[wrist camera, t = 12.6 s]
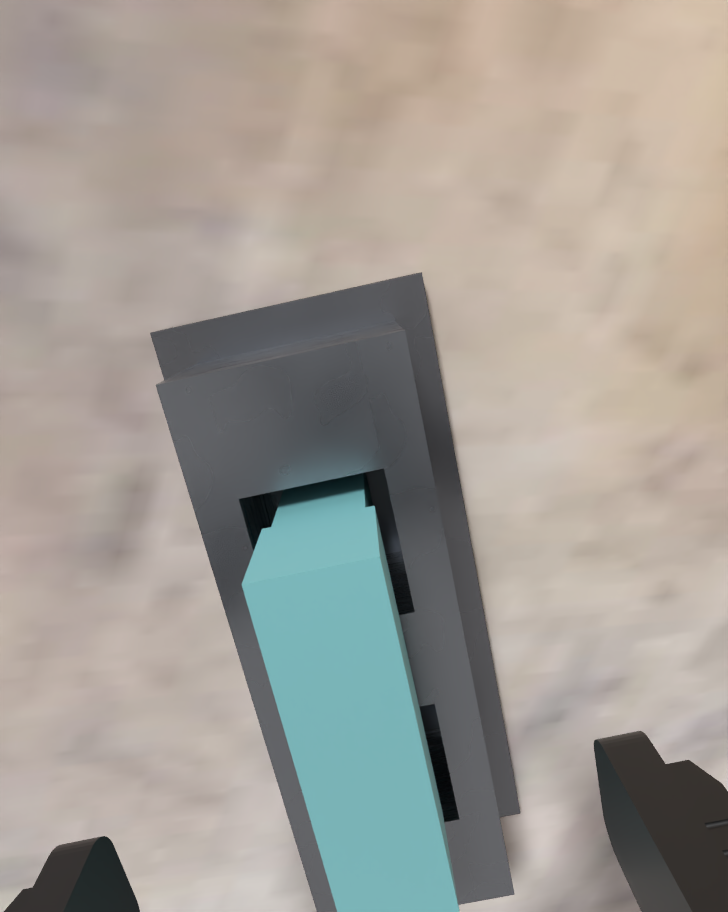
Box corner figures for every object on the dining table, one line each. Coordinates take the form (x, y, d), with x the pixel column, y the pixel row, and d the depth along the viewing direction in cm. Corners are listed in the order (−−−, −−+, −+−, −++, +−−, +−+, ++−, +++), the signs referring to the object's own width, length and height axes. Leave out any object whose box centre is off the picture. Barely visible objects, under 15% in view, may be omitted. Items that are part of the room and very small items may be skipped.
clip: (282, 473, 17) (241, 584, 11) (369, 454, 17) (380, 556, 11) (346, 719, 19) (343, 933, 13) (423, 704, 19) (459, 912, 13)
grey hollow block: (156, 331, 16) (97, 345, 13) (419, 272, 16) (440, 269, 12) (308, 837, 21) (299, 962, 17) (515, 798, 21) (552, 916, 17)
